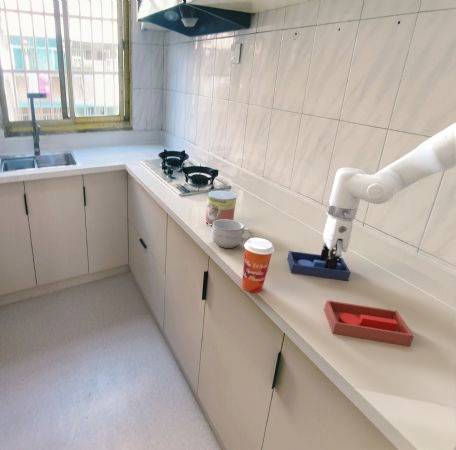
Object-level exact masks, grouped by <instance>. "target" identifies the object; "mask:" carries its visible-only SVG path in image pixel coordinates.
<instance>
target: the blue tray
mask: <svg viewBox="0 0 456 450" xmlns="http://www.w3.org/2000/svg"><path fill="white" fill-rule="evenodd" d="M320 256H321V254H316V253H309V252H301V251H294V250H293V251H292V250H288V254H287V263H288V267H289V270H290V273H291V274H296V275H302V276H309V277H310V276H311V277H318V278H324V279H331V280H338V281H346V282H349V279H350V276H351V273H352V272H351V271H350V269H349V267H348V265H347V264H346V262H345V259H344V258H343V257H339V261H338V263H340V264H341V268H340V270H335V269H328V268H321V267H313V266H306V265H299V264H298V261H299V260H308V261H311V262H312V263H313V261H314V260H320Z"/></svg>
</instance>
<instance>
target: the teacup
mask: <svg viewBox="0 0 456 450" xmlns="http://www.w3.org/2000/svg"><path fill="white" fill-rule="evenodd" d="M245 232H249V235H248V236H247V237H243V235H244V234H245ZM253 235H254V232H253V230H252V229H251V228H250V227H245V225H244V224H243V223H242V222H240V221H237V220H234V219H233V220H228V219H220V220H216V221H214V222H213V227H212V229H211V238H212V241H213V242H214V243H215V244H216V245H217V246H218V247H221V248H225V249H232V248H235V247H237V246H238V245H239V244H243V242H247V241H248V239H250V238H253Z"/></svg>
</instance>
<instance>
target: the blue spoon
mask: <svg viewBox="0 0 456 450" xmlns="http://www.w3.org/2000/svg"><path fill="white" fill-rule="evenodd" d="M325 262H326V261H320V260H314V261H313V263H312V262H311V261H308V260H299V261H298V264H299V265H306V266H313V267H321V268H324V265H325ZM340 268H341V264H340V263H337V267H336V270H340Z"/></svg>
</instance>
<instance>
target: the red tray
mask: <svg viewBox="0 0 456 450" xmlns="http://www.w3.org/2000/svg"><path fill="white" fill-rule="evenodd" d="M323 311H324V314H325V316H326V319H327V322H328V325H329V327H330V330H331V333H332V334H335V335H340V336H345V337H352V338H357V339H362V340H363V339H364V340H369V341H376V342H381V343H387V344H393V345H398V346H404V347H411V344H412V342H413V341H414V338H415V335H414V334H413V332H412V331H411V330H410V327H409V326H408V325H407V324H406V322H405V321H404V319H403V318H402V316H401V315H400V313H399V312H398V311H397V310H393V309H387V308H382V307H381V308H380V307H373V306H367V305H361V304H354V303H348V302H341V301H335V300H329V299H327V300H326V301H325V304H324V308H323ZM342 313H350V314H353V315H355V316H357V317H358V318H360V315H361V314H362V315H368V316H374V317H381V318H387V319H393V320H396V322H397V323H398V326H397V328H396V331H389V330H382V329H376V328H370V327H364V326H358V325H352V324H346V323H340V322H339V316H340V314H342Z"/></svg>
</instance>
